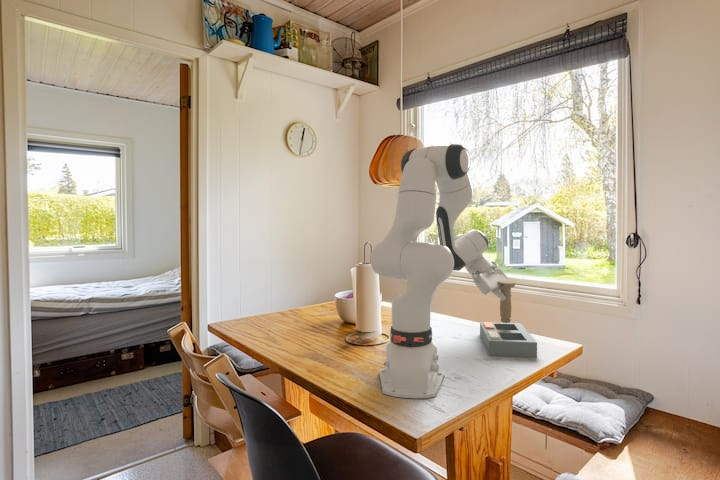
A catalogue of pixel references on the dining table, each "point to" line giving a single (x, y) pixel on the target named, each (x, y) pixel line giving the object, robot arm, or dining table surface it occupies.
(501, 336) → the socket board
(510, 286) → the handle
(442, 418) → the dining table surface
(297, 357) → the dining table surface
